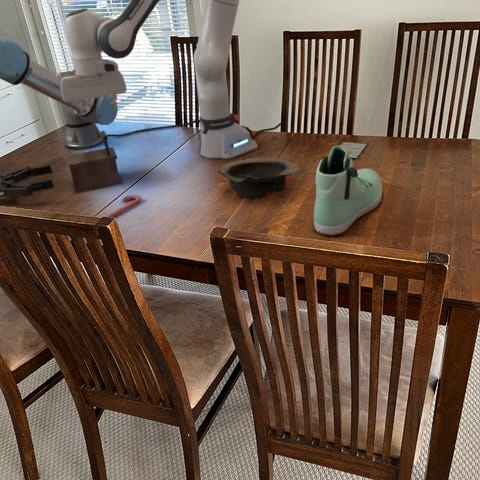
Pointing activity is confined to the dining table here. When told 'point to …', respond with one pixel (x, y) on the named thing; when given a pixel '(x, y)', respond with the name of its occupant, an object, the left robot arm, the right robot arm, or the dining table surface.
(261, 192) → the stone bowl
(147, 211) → the dining table surface
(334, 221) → the sneaker
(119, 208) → the candy cane
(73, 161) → the lid
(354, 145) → the baking ingredient package
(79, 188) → the chest
